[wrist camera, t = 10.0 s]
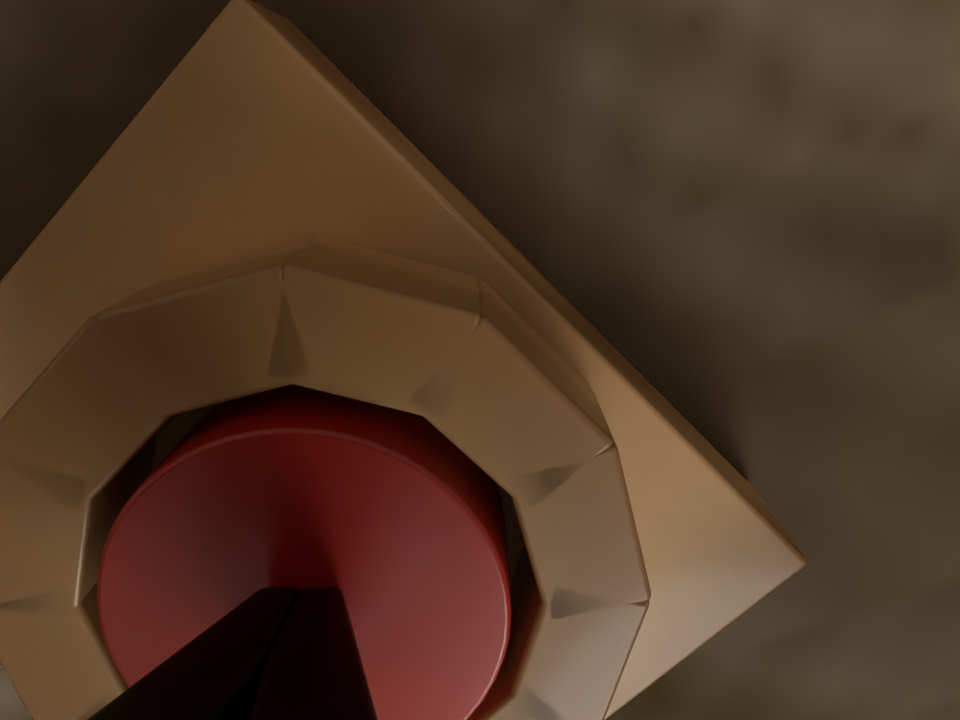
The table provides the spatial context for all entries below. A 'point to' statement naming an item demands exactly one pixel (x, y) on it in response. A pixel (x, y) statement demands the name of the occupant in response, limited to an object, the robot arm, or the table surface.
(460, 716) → the button
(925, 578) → the table surface
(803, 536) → the table surface
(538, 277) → the button block
